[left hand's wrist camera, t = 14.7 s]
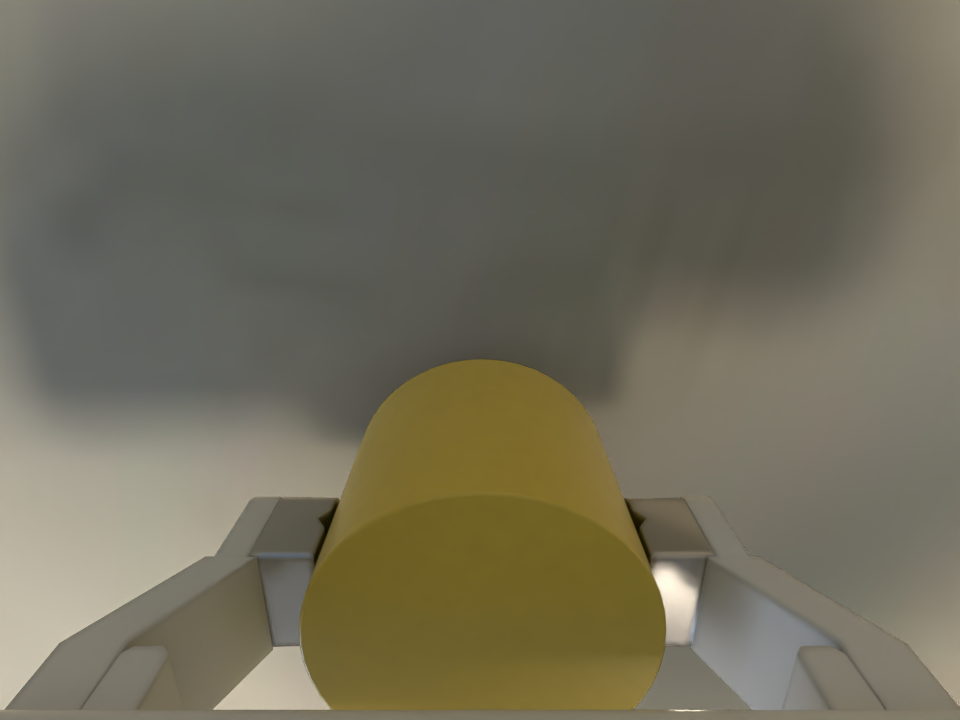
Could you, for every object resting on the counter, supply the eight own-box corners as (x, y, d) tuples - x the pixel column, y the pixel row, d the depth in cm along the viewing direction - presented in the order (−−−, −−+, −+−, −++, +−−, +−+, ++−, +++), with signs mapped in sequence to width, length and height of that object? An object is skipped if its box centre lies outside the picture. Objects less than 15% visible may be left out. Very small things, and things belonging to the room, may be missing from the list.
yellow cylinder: (352, 355, 11) (278, 489, 7) (615, 360, 11) (695, 496, 7) (366, 565, 13) (314, 768, 9) (591, 569, 13) (642, 773, 9)
